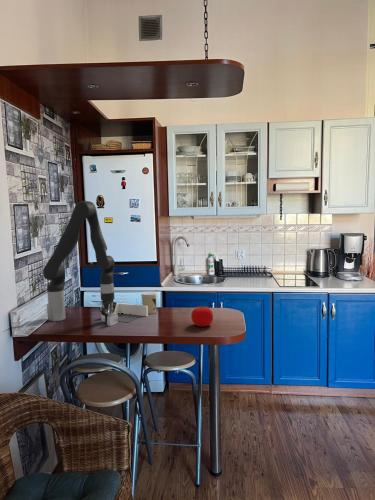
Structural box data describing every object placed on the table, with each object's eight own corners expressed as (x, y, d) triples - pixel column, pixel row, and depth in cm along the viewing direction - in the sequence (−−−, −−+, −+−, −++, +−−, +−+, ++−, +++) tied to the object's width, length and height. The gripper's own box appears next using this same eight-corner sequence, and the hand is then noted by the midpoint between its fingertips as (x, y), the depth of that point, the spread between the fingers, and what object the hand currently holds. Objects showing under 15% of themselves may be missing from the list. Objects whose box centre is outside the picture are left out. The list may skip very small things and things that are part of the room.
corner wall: (103, 318, 219) (103, 308, 218) (118, 312, 232) (118, 302, 231) (134, 322, 209) (133, 312, 209) (148, 315, 222) (147, 305, 222)
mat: (113, 320, 214) (113, 320, 214) (125, 315, 224) (125, 314, 224) (128, 322, 209) (128, 322, 209) (139, 317, 220) (139, 316, 220)
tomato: (214, 328, 195) (214, 308, 194) (192, 329, 194) (191, 309, 193) (211, 321, 207) (211, 303, 206) (190, 322, 206) (190, 304, 205)
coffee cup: (156, 314, 225) (155, 294, 224) (141, 314, 225) (140, 295, 224) (158, 310, 234) (157, 291, 233) (143, 310, 235) (142, 291, 233)
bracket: (118, 322, 210) (117, 313, 209) (110, 326, 204) (110, 317, 203) (103, 320, 214) (103, 312, 214) (95, 324, 208) (95, 315, 207)
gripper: (109, 288, 217) (110, 317, 219) (94, 293, 205) (95, 324, 207) (120, 289, 214) (121, 318, 216) (105, 294, 202) (106, 325, 204)
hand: (108, 321), depth 211 cm, fingers closed on bracket
